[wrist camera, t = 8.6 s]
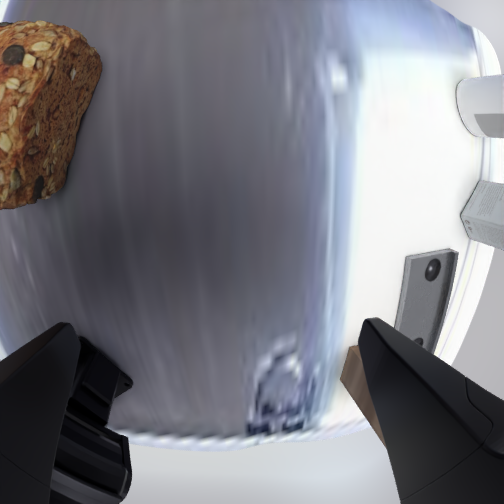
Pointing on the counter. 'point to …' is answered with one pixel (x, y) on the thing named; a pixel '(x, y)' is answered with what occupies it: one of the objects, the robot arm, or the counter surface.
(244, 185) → the counter surface
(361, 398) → the post
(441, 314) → the flange strip
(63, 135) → the bread
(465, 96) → the spray bottle
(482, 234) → the skincare box
